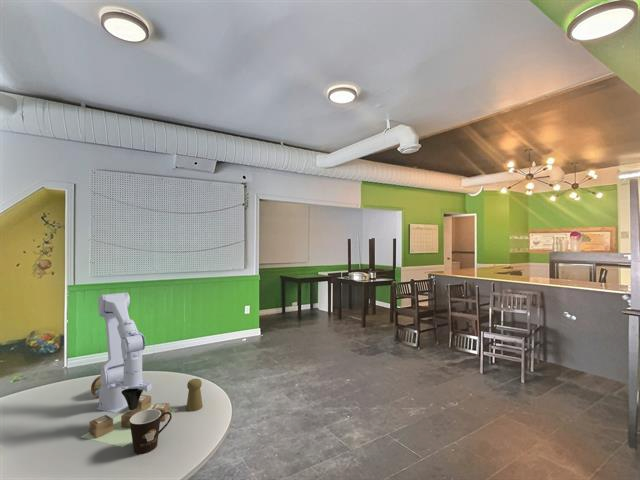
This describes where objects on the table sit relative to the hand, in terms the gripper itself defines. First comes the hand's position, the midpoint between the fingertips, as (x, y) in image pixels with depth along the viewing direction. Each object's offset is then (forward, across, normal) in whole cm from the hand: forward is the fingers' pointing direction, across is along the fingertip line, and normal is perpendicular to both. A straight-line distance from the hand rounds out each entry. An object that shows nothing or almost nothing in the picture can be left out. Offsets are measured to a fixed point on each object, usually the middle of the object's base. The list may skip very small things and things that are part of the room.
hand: (133, 408), depth 114 cm
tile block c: (+5, -6, +9) cm, 12 cm away
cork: (+6, +13, +16) cm, 21 cm away
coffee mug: (+6, +16, -8) cm, 19 cm away
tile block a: (+5, -6, -7) cm, 11 cm away
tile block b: (+5, +6, +6) cm, 10 cm away
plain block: (+5, 0, 0) cm, 5 cm away
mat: (+6, -1, +1) cm, 6 cm away
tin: (+6, -31, +17) cm, 36 cm away
